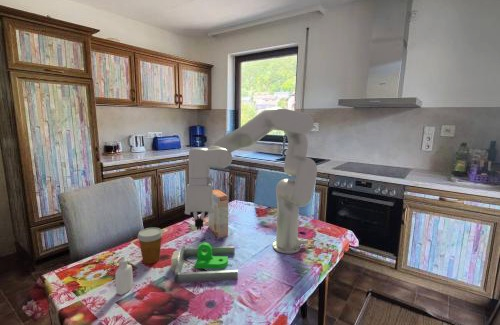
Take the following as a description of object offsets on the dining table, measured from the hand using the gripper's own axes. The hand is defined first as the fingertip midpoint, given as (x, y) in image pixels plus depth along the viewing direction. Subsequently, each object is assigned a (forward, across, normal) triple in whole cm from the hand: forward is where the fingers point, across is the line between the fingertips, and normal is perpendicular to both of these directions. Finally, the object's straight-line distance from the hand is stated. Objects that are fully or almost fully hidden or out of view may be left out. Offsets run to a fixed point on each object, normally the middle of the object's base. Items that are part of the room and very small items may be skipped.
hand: (199, 228), depth 100 cm
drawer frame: (+16, -3, 0) cm, 16 cm away
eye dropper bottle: (+16, +24, +12) cm, 31 cm away
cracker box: (+16, -8, -32) cm, 37 cm away
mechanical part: (+16, -5, -2) cm, 17 cm away
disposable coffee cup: (+16, +20, -7) cm, 26 cm away
